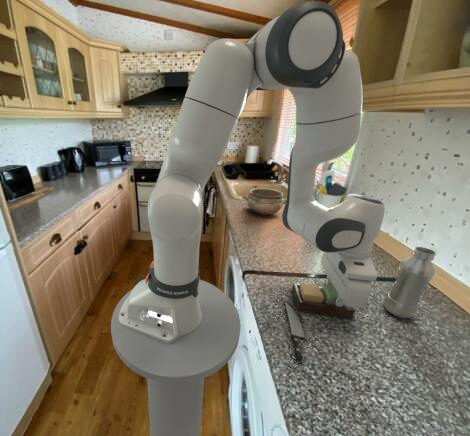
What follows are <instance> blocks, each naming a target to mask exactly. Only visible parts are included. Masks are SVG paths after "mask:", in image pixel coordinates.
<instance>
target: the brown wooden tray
mask: <svg viewBox="0 0 470 436" xmlns="http://www.w3.org/2000/svg"><path fill="white" fill-rule="evenodd" d="M299 287H300V283H297V282H293V284H292V289H291V293H292V295H293V299H294V302H295V305H296V308H297V311H298V312H304V313H310V314H311V313H312V314H317V315H324V316H331V317H337V318H344V319H350V320H351V319H352V320H353V318H354V315H355V313H356V308H351V307H339V306H334V305H327V304H324V301H323V302H322V304H320V303H314V302H307V301H303V300H302V298H301V295H300V292H299ZM322 287H323V286H319V288H320V290H322Z"/></svg>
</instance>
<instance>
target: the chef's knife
mask: <svg viewBox="0 0 470 436" xmlns="http://www.w3.org/2000/svg"><path fill="white" fill-rule="evenodd" d="M285 309H286V314H287V318H288V324H289V329H290V332H291V337H292V341H293V345H294V350H295V355H296V358H297V360H298V361H302V360H303V359H304V357H303V355H302V352H301V350H300V346H299V340H298V338H306V336H305V333H304V330H303V327H302V323H301V320H300V318H299V316H298V314H297V313H296V312H295V310H294V309H293V308H292V306H291V305H290V304H288V303H287V302H286V301H285Z"/></svg>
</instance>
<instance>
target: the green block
mask: <svg viewBox="0 0 470 436" xmlns="http://www.w3.org/2000/svg"><path fill="white" fill-rule="evenodd" d="M321 287H322V290H321V292H322V294H323V296H324V299H323V301H324V304H327V305H334V306H336V305H335V303H334V299H335V297H336V298H338V297H339V296H338V292H337V291H336V289H335V287H334V285H329V284H327V283H323V284H322V286H321ZM342 307H347V306H345V305H344V304H343V306H342Z"/></svg>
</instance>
